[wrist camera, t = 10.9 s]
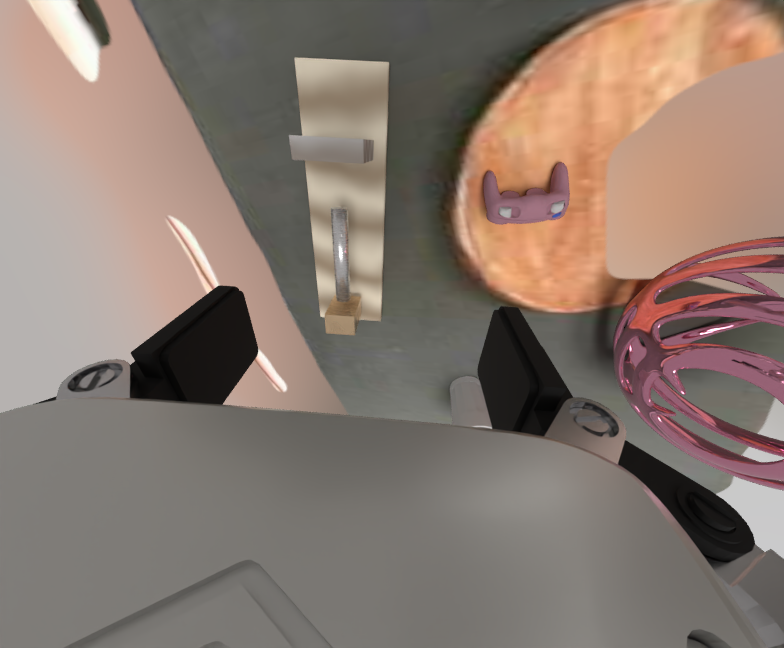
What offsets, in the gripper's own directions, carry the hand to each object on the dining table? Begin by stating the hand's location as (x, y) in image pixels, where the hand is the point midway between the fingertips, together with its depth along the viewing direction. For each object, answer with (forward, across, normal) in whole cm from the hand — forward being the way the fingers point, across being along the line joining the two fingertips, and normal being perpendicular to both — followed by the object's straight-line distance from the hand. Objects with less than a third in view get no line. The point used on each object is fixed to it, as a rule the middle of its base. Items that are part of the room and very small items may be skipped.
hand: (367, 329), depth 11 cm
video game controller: (+33, -15, -1) cm, 36 cm away
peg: (+29, +7, +9) cm, 31 cm away
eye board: (+32, +7, +4) cm, 33 cm away
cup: (+32, -15, +34) cm, 49 cm away
